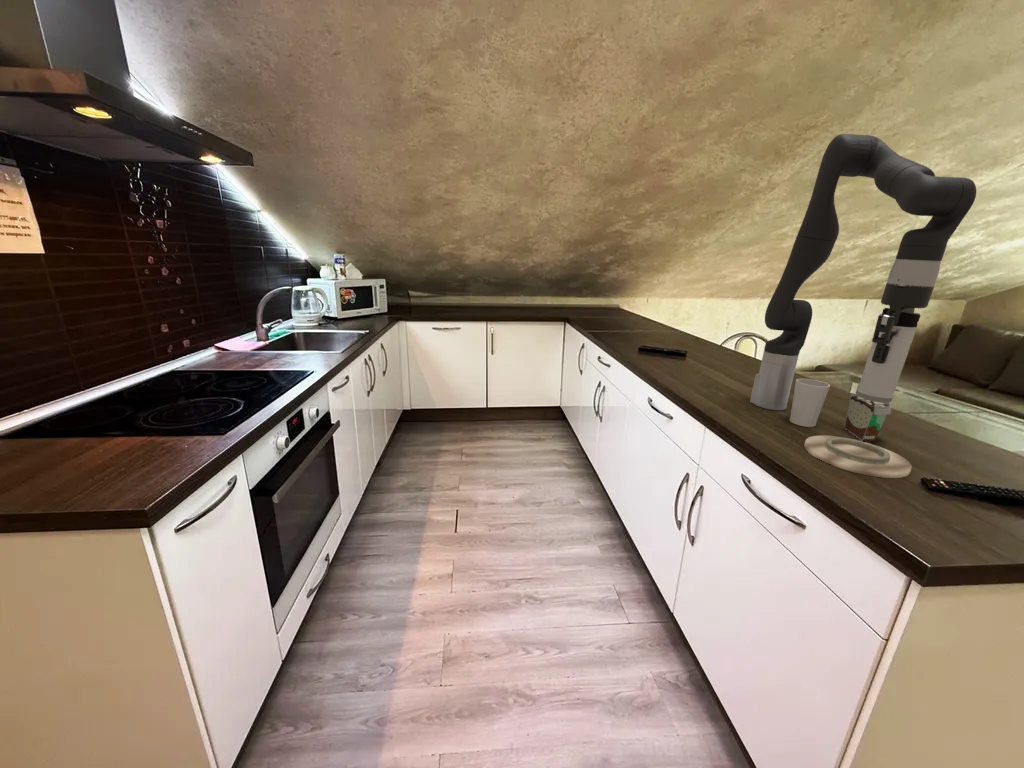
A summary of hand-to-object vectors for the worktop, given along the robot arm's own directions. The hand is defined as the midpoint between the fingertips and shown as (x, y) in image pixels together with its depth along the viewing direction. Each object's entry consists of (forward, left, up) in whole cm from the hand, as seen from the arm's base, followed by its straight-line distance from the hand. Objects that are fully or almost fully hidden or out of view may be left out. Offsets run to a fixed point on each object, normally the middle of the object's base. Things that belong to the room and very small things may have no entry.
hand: (884, 360), depth 95 cm
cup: (-19, +14, -24) cm, 33 cm away
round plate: (-1, +1, -24) cm, 24 cm away
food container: (-6, +20, -24) cm, 32 cm away
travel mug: (0, 0, -9) cm, 9 cm away
